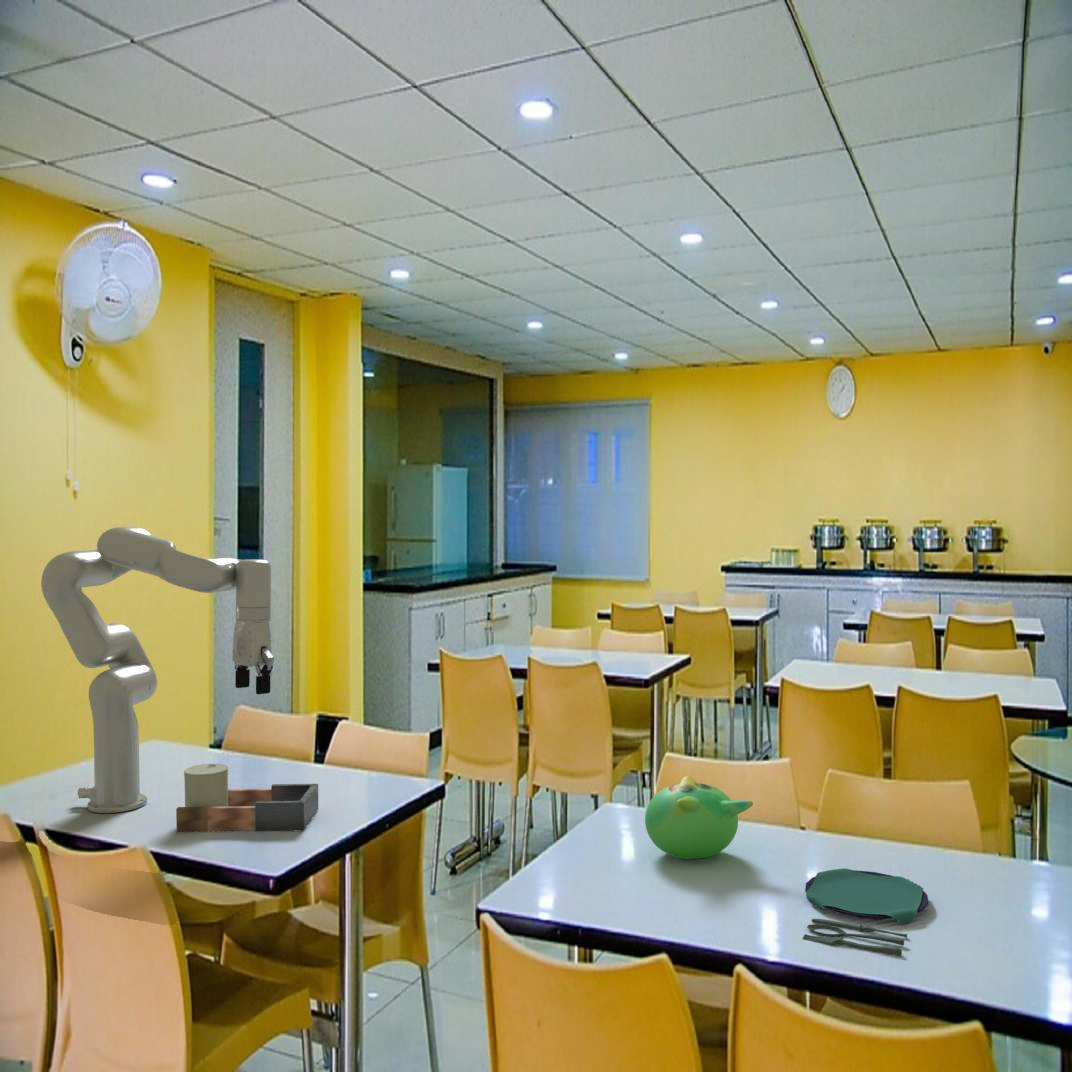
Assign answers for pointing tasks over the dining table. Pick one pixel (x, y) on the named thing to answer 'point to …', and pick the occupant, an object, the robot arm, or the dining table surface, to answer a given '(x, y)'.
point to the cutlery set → (863, 904)
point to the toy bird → (693, 819)
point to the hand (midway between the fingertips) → (252, 690)
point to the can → (206, 785)
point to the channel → (223, 813)
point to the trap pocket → (287, 808)
